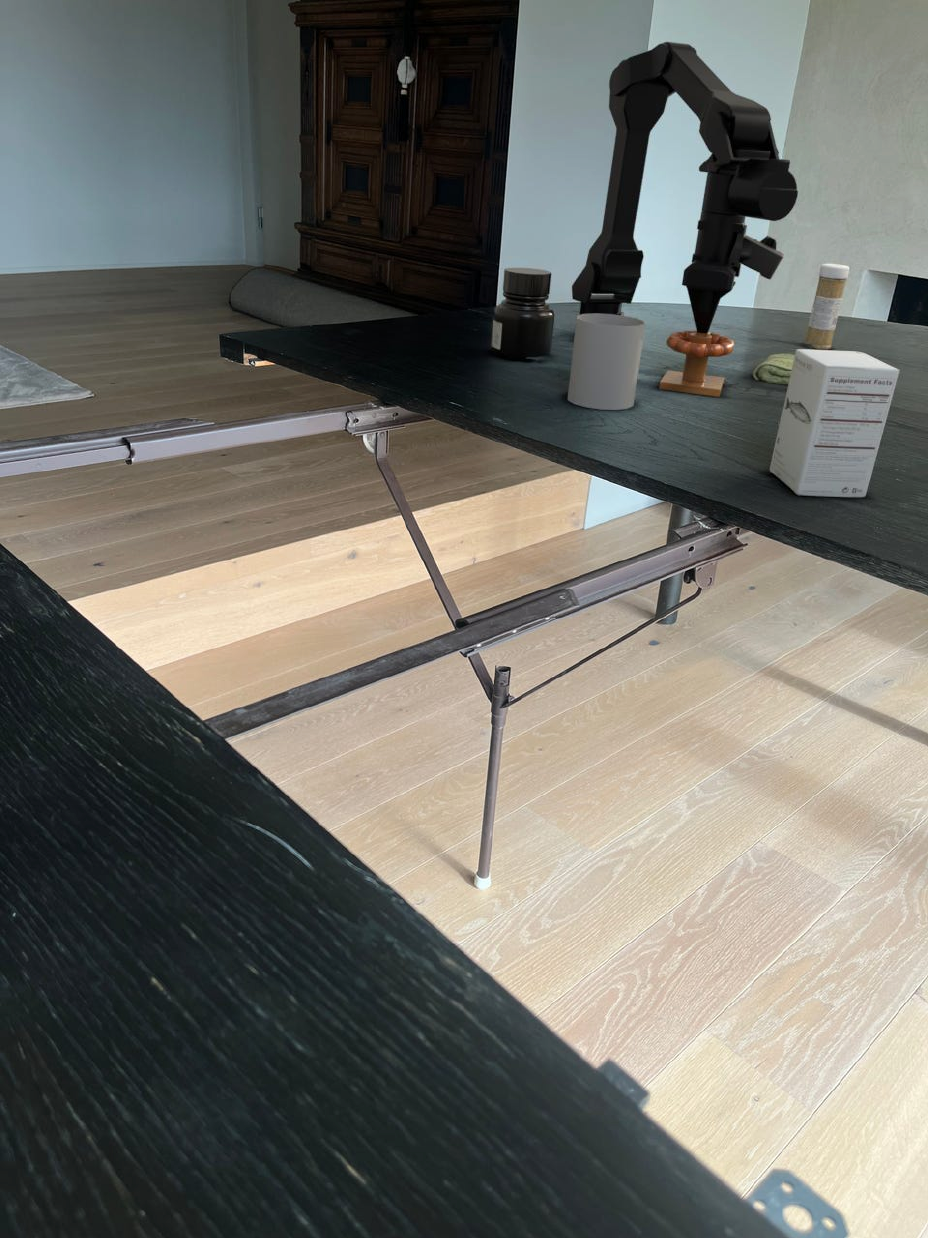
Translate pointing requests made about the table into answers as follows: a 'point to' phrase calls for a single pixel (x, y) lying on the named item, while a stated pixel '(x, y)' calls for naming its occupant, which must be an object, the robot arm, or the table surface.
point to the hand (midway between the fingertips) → (702, 335)
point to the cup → (605, 361)
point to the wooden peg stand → (694, 373)
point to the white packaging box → (832, 422)
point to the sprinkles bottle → (826, 305)
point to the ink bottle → (523, 315)
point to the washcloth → (775, 369)
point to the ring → (700, 345)
